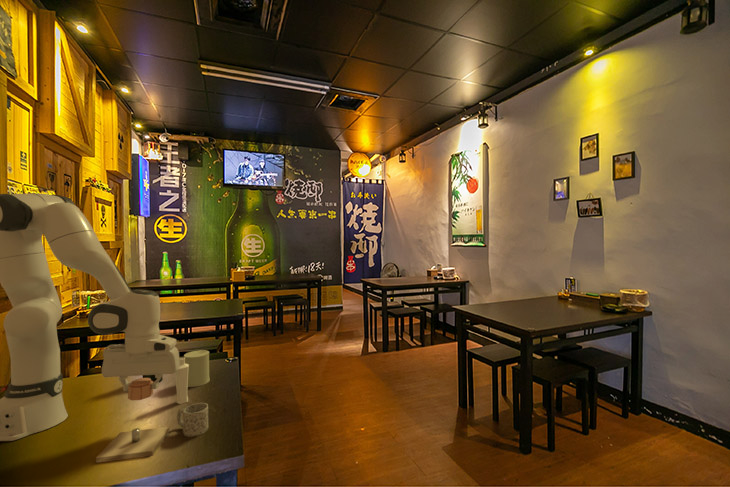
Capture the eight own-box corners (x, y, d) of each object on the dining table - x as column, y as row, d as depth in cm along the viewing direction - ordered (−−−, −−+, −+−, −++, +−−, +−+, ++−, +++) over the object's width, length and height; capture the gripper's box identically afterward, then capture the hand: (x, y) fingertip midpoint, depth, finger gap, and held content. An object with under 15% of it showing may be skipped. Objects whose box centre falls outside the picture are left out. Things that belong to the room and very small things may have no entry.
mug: (213, 426, 102) (213, 404, 102) (196, 438, 96) (196, 414, 96) (186, 421, 105) (186, 400, 105) (168, 433, 99) (168, 410, 99)
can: (214, 380, 137) (214, 351, 137) (192, 389, 129) (192, 357, 129) (201, 376, 142) (200, 347, 142) (179, 384, 134) (178, 353, 134)
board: (96, 462, 86) (96, 457, 86) (120, 436, 97) (120, 432, 97) (152, 455, 88) (152, 450, 88) (169, 430, 100) (169, 426, 100)
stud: (130, 443, 92) (130, 432, 92) (133, 439, 93) (133, 428, 93) (137, 442, 92) (137, 431, 92) (140, 438, 94) (140, 428, 94)
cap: (124, 400, 99) (125, 385, 99) (134, 392, 104) (134, 377, 105) (147, 399, 100) (148, 384, 100) (155, 391, 106) (156, 376, 106)
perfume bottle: (183, 404, 116) (183, 361, 116) (172, 403, 117) (172, 360, 117) (193, 398, 121) (192, 356, 121) (182, 397, 122) (181, 356, 122)
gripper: (97, 347, 97) (96, 396, 97) (175, 344, 102) (173, 391, 101) (109, 341, 104) (107, 387, 103) (182, 339, 108) (180, 383, 107)
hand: (141, 389), depth 102 cm, fingers closed on cap, 6 cm apart
